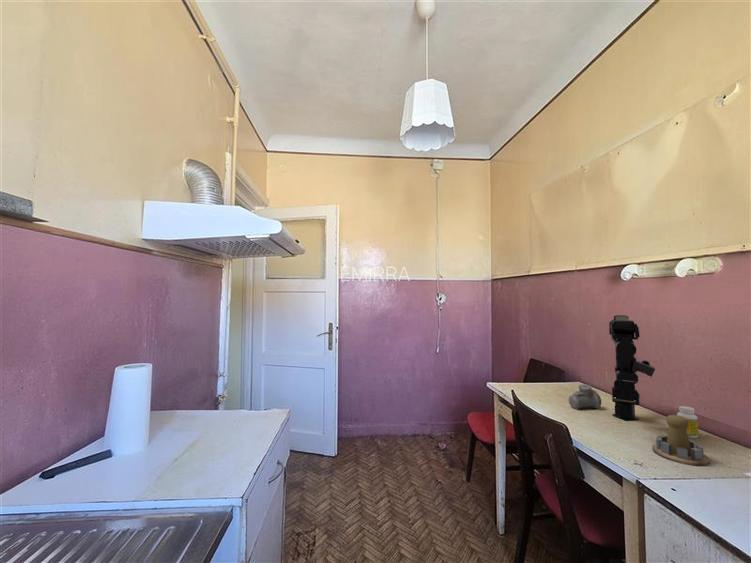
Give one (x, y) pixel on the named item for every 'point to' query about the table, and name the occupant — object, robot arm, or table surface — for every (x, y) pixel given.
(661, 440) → the castellated collar
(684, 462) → the walnut base
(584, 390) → the pipe fitting
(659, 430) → the table surface
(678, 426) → the cork
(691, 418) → the supplement bottle
